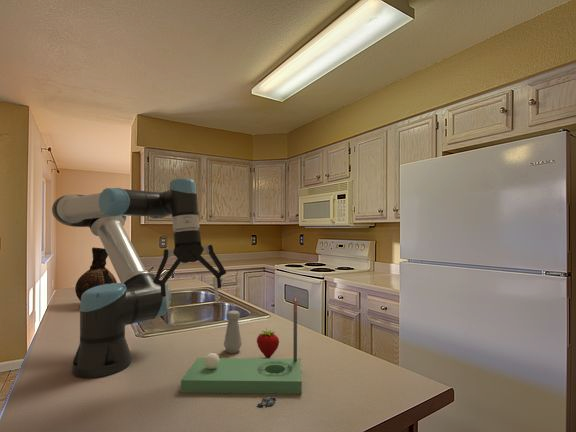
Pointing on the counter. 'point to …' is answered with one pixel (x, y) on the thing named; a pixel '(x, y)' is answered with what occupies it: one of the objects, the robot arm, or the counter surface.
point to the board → (247, 374)
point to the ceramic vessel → (95, 273)
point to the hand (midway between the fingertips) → (193, 304)
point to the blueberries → (267, 402)
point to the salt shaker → (232, 333)
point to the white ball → (211, 360)
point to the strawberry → (267, 343)
